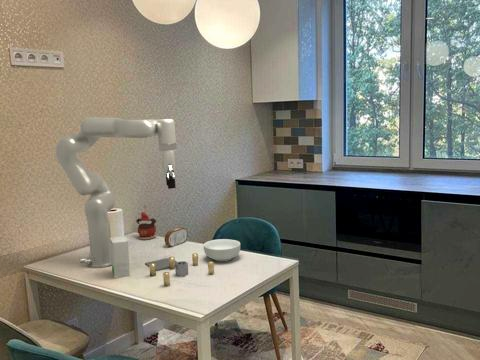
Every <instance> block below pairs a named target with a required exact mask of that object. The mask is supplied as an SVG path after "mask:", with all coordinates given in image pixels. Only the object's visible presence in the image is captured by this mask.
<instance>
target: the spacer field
mask: <svg viewBox="0 0 480 360" xmlns="http://www.w3.org/2000/svg"><path fill="white" fill-rule="evenodd" d="M191 256H192V257H191V258H192V266H193V267H197V266H199V255H198V253H197V252H196V253H192V254H191ZM168 258H169V268H168V269H169V270H170V271H171V270H175V261H176V260H175V256H169V257H168ZM148 268H149V276H150V277H156V276H157V271H156V269H155V263H150V264H149V266H148ZM207 271H208V272H207V273H208V275H211V276H213V275H215V262H214V261H212V260H211V261H210V260H209V261H208V262H207ZM170 275H171V274H170V272H169V271H164V272H162V276H163V278H162V279H163V287H170V286H171V277H170Z"/></svg>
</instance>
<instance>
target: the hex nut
mask: <svg viewBox="0 0 480 360" xmlns="http://www.w3.org/2000/svg"><path fill="white" fill-rule="evenodd" d="M174 270H175V276H177V277H178V278H180V277H182V278H183V277H186V276H189V263H188V262H187V261H184V260H183V261H177V263H175V269H174Z"/></svg>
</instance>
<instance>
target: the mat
mask: <svg viewBox="0 0 480 360" xmlns="http://www.w3.org/2000/svg"><path fill="white" fill-rule="evenodd" d="M177 262H178V261H177V260H175V263H177ZM150 263H155V269H156V272H159V271H163V270H168V269H170V268H169V257H165V258H161V259H157V260H153V261H147V262H144V264H145V265H146V266H147V267H149V264H150Z"/></svg>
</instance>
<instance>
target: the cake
mask: <svg viewBox="0 0 480 360" xmlns="http://www.w3.org/2000/svg"><path fill="white" fill-rule="evenodd" d="M137 215H139V216H141V217H140V218H137V219H136V220H135V221H136V223H137V224H138V227H137V233H138V236H137V237H138V239H140V240H150V239H155V238H156V237H157V234H156V232H157V227H156V225H155V224H156V223H157V220H156V219H155V218H149V217H150V216H148V215H147V205H145V204H144V211H141V210H140V211H138V212H137Z"/></svg>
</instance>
